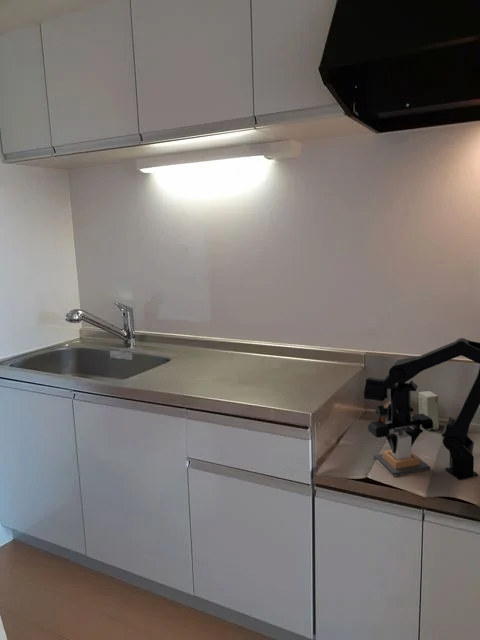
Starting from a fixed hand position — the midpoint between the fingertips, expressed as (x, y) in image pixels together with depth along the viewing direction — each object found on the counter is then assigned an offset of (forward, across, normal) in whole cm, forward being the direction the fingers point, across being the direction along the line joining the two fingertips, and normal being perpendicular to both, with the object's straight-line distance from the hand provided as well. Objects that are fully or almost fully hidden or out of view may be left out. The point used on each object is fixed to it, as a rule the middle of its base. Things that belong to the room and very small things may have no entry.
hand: (400, 451), depth 157 cm
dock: (+4, 0, 0) cm, 4 cm away
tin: (+4, -11, -27) cm, 29 cm away
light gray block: (+2, 0, 0) cm, 2 cm away
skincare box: (+4, -23, -21) cm, 31 cm away
